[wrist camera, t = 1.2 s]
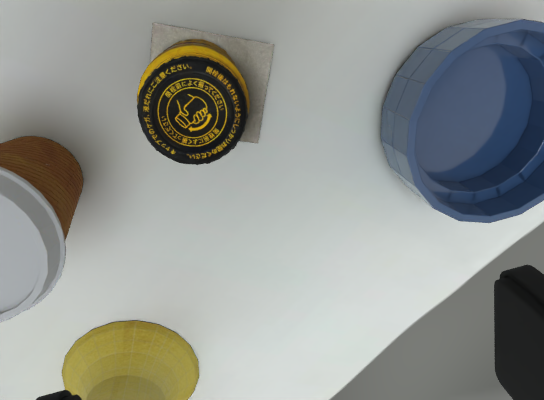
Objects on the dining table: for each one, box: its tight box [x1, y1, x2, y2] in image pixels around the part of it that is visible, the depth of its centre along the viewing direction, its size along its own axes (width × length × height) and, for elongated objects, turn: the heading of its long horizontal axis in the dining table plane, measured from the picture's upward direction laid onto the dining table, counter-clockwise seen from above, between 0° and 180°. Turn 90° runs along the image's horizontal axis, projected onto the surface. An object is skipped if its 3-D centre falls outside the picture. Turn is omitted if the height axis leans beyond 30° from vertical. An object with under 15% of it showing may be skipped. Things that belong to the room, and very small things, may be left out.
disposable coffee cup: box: [0, 136, 83, 322], centre depth 27 cm, size 10×10×12 cm
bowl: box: [381, 19, 544, 223], centre depth 33 cm, size 14×14×6 cm
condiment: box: [137, 23, 274, 165], centre depth 27 cm, size 7×8×12 cm
